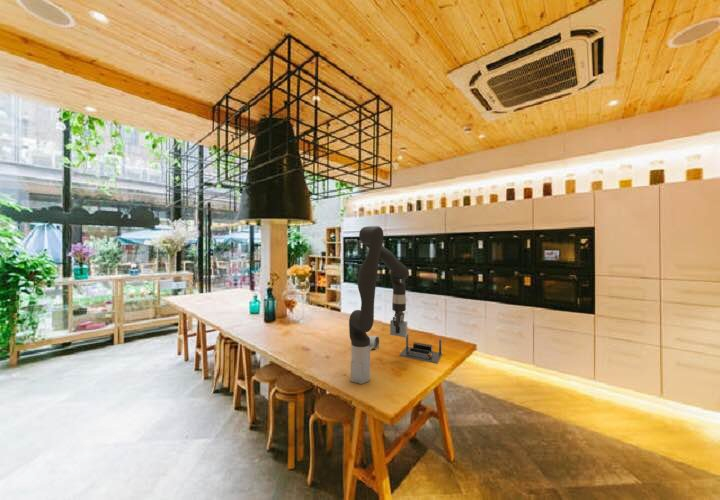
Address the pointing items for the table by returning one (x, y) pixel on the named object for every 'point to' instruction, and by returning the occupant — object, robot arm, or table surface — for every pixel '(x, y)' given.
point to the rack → (421, 352)
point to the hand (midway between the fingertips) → (398, 332)
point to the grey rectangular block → (402, 329)
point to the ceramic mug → (374, 342)
